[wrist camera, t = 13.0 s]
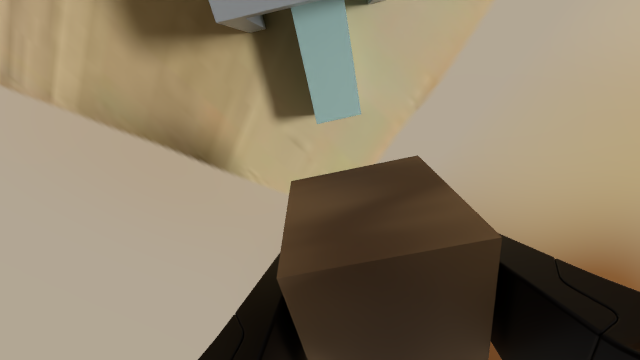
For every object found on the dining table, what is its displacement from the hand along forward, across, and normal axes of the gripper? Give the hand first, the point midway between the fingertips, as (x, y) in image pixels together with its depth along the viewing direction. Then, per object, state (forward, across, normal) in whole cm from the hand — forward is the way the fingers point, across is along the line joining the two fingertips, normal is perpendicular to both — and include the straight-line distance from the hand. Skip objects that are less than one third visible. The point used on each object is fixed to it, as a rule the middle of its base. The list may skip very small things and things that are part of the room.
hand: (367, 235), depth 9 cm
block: (+1, 0, 0) cm, 1 cm away
